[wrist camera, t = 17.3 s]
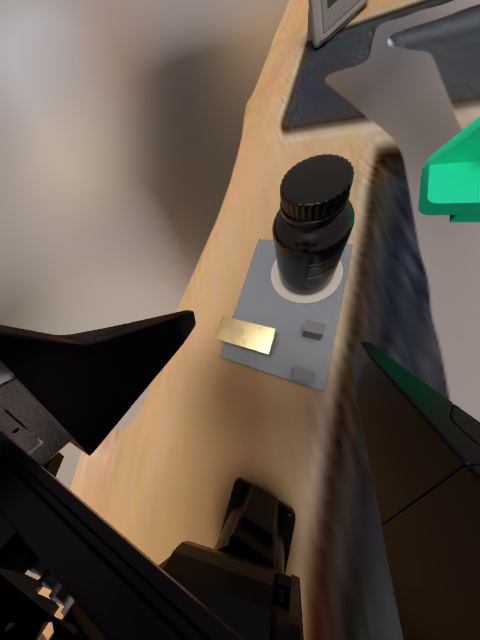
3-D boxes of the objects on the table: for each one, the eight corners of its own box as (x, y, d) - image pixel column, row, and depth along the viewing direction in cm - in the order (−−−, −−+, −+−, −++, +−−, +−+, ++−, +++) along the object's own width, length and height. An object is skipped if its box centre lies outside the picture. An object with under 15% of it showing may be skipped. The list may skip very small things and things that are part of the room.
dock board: (322, 390, 19) (329, 394, 16) (222, 357, 24) (209, 354, 20) (350, 249, 23) (361, 226, 20) (259, 243, 28) (254, 224, 24)
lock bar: (270, 356, 21) (268, 354, 19) (221, 341, 23) (214, 338, 21) (277, 333, 22) (275, 328, 19) (228, 321, 24) (221, 315, 22)
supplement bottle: (336, 251, 22) (378, 132, 11) (330, 299, 21) (373, 215, 10) (282, 251, 25) (275, 151, 14) (274, 293, 23) (258, 220, 12)
